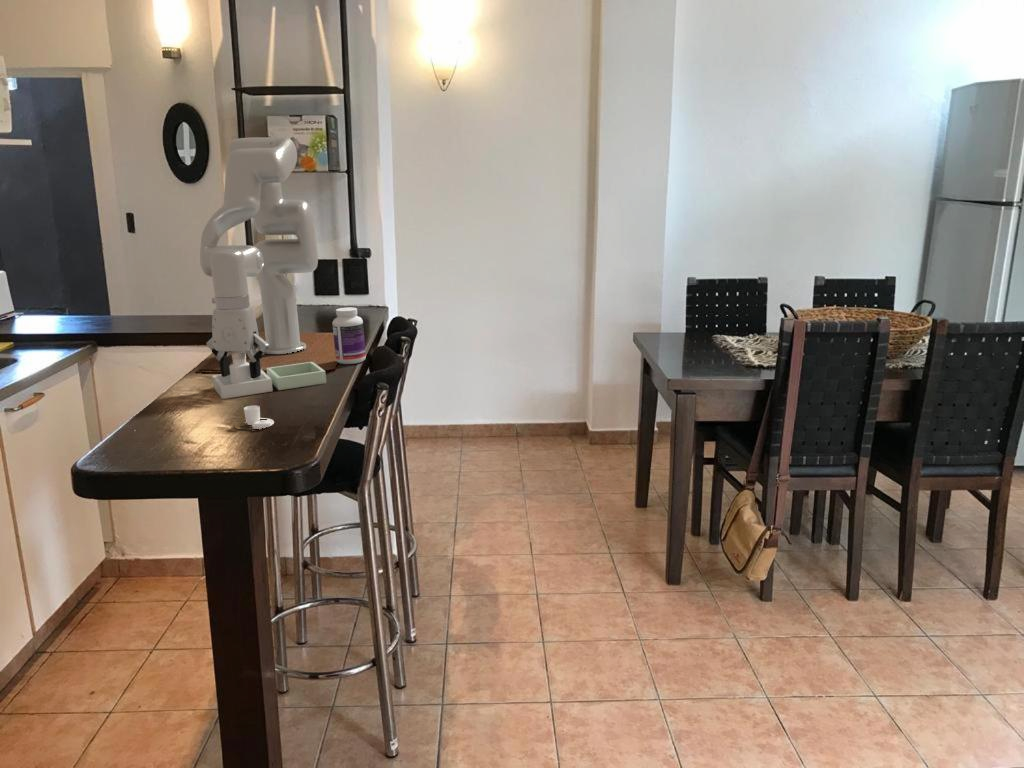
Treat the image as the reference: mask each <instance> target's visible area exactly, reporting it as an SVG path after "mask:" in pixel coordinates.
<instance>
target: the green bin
mask: <svg viewBox="0 0 1024 768" xmlns="http://www.w3.org/2000/svg"><path fill="white" fill-rule="evenodd" d="M266 374H267V375H268V376H269V377H270V378H271V379H272V386H274V387H275V388H276V389H277V390H278V391H282V390H284V391H285V390H289V389H296V388H301V387H308V386H309V387H310V386H317V385H322V384H327V375H326V370H324V369H323V368H322V367H320V366H319V365H318V364H316V363H315V362H314V361H307V362H301V363H299V362H298V363H293V364H286V365H285V364H284V365H279V366H271V367H266Z"/></svg>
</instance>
